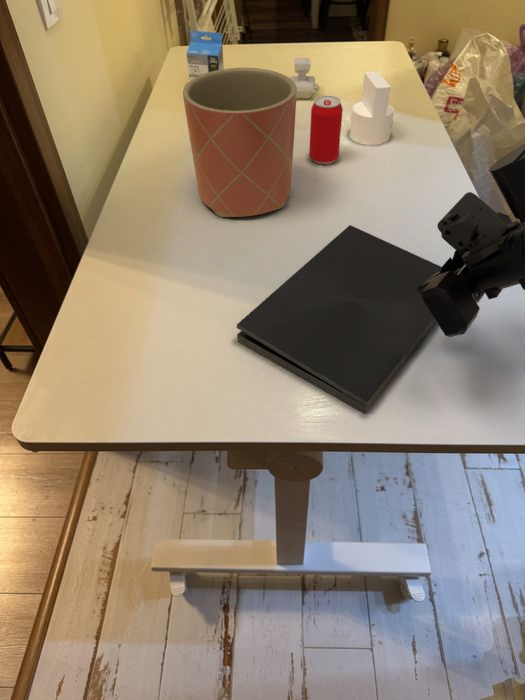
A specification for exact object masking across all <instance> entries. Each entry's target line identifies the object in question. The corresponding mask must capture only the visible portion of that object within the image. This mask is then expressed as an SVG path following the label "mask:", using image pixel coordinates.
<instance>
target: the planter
mask: <svg viewBox="0 0 525 700" xmlns="http://www.w3.org/2000/svg"><path fill="white" fill-rule="evenodd" d="M296 95H297V88H296V85H295V83H294V82H293V80H291V79H290V77H289V76H287V75H285V74H282V73H280V72H278V71H274V70H270V69H265V68H260V67H259V68H258V67H231V68H224V69H222V70H216V71H212V72H208V73H205V74H203V75H200V76H198V77H196V78H194V79H192V80H191V81H190V80H189V82H187V83H186V84H185V85H184V87H183V90H182V99H183V104H184V111H185V117H186V124H187V129H188V131H187V132H188V137H189V142H190V150H191V155H192V160H193V166H194V167H193V168H194V172H195V173H194V174H195V179H196V186H197V191H198V196H199V198H200V200H201V202H202V203H203V204H204V205H206V207H208V208H209V209H211V210H212V211H213V212H214V213H215V214H216V216H218V217H221V218H235V217H236V218H237V217H239V218H240V217H252V216H259V215H263V214H267V213H270V212H274V211H277V210H280V209H282V208H284V207H285V206H286V204H287V201H288V199H289V196H290V193H291V188H292V175H293V160H294V159H293V157H294V145H295V144H294V143H295V129H296V112H297V111H296V110H297V98H296Z"/></svg>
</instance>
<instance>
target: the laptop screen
mask: <svg viewBox="0 0 525 700" xmlns="http://www.w3.org/2000/svg"><path fill="white" fill-rule="evenodd" d="M441 267H442V266H441V265H439V264H437V263H434V262H432V261H430V260H428V259H426V258H423V257H422V256H419V255H417V254H414V253H412V252H410V251H408V250H406V249H404V248H402V247H399V246H397V245H395V244H392V243H391V242H388V241H386V240H384V239H381V238H380V237H377V236H375V235H373V234H372V233H369V232H367V231H364V230H362V229H360V228H358V227H356V226H353V225H351V224H349V225H348V226H347V227H346V228H344V229H343V230H342V231H341V232H340V233H339V234H338V235H337V236H336V237H334V238H333V239H332V240H331V241H330V242H328V243H327V244H326V245H325V246H324V247H323V248H321V250H319V252H317V253H316V254H315V255H313V257H312V258H311V259H309V260H308V261H307V262H306V263H305V264H304V265H302V266H301V267H300V268H299V269H298V270H297V271H296V272H295V273H294V274H292V275H291V276H290V277H289V278H288V279H287V280H285V281H284V282H283V283H282V284H281V285H280V286H279V287H278V288H276V290H274V291H273V292H272V293H271V294H269V295H268V296H267V297H266V298H264V300H263V301H262V302H261V303H259V304H258V305H257V306H256V307H255V308H254V309H252V310H251V311H250V312H249V313H248V314H246V316H244V317H243V318H242V319H241V320H240V321H239V322H238V323H237V324H236V329H237V330H239V331H240V332H241V331H243V332H244V333H246V334H248V335H249V336H251V337H253V338H254V339H256V340H257V341H259V342H261V343H262V344H264V345H266V346H267V347H269V348H271V349H272V350H274V351H276V352H277V353H279V354H281V355H282V356H284V357H286V358H287V359H289V360H291V361H292V362H294V363H295V364H297V365H299V366H300V367H302V368H304V369H305V370H307V371H309V372H310V373H312V374H314V375H315V376H317V377H319V378H320V379H322V380H324V381H325V382H327V383H329V384H330V385H332V386H333V387H335V388H337V389H338V390H340V391H342V392H343V393H345V394H347V395H348V396H350V397H352V398H353V399H355V400H357V401H358V402H360V403H362V404H363V405H365V406H367V405H368V403H369V402H370V401H371V400H372V398H373V397H374V396H375V395H376V393H377V392H378V391H379V389H380V388H381V387H382V386H383V384H384V383H385V382H386V381H387V379H388V378H389V377H390V375H391V374H392V373H393V372H394V370H395V369H396V368H397V367H398V365H399V364H400V363H401V361H402V360H403V359H404V358H405V356H406V355H407V354H408V353H409V351H410V350H411V349H412V348H413V346H414V345H415V344H416V342H417V341H418V340H419V339H420V337H421V336H422V335H423V334H424V332H425V331H426V330H427V328H428V327H429V326H430V325H431V323H432V322H433V321H434V320H435V318H434V317H433V315H432V314H431V312H430V310H429V309H428V307H427V306H426V304H425V303H424V301H423V299H422V295H421V294H420V293H419V292H418V290H417V287H418V286H419V285H420V284H422V283H423V282H424V281H426V280H427V279H429V278H430V277H432V276H433V275H434V274H436V273H437V272H439V271H440V269H441Z"/></svg>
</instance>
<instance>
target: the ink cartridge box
mask: <svg viewBox="0 0 525 700" xmlns="http://www.w3.org/2000/svg"><path fill="white" fill-rule="evenodd" d="M189 33H190V34H189V35H190V42H189V44H188V48H187V51H186V60H187V61H186V63H187V70H188V79H189V82H190V81H191V80H192V79H194V78H196V77H198V76H200V75H203V74H205V73H208V72H212V71H216V70H222V69H225V68H224V67H225V66H224V65H225V63H224V51H223V50H224V48H223V35H222V32H213V31H204V30H203V31H201V30H189ZM205 36H206V37H207V38H210V39H205ZM203 38H204V39H203Z"/></svg>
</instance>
